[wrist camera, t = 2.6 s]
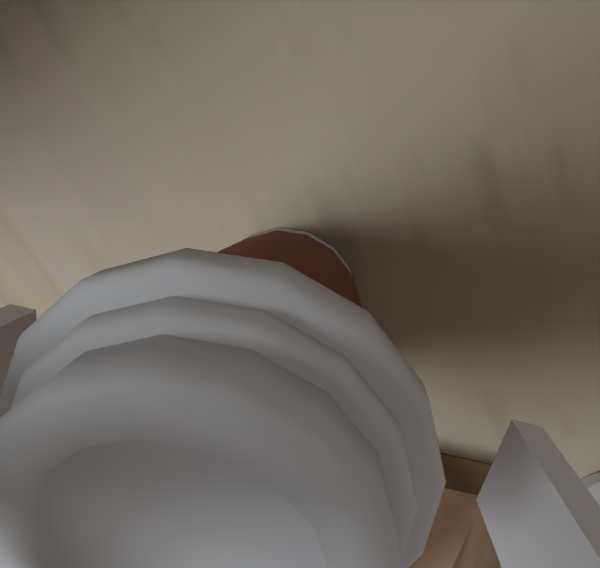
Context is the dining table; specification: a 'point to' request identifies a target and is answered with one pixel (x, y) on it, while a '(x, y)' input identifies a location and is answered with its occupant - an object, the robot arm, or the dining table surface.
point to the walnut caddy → (459, 521)
